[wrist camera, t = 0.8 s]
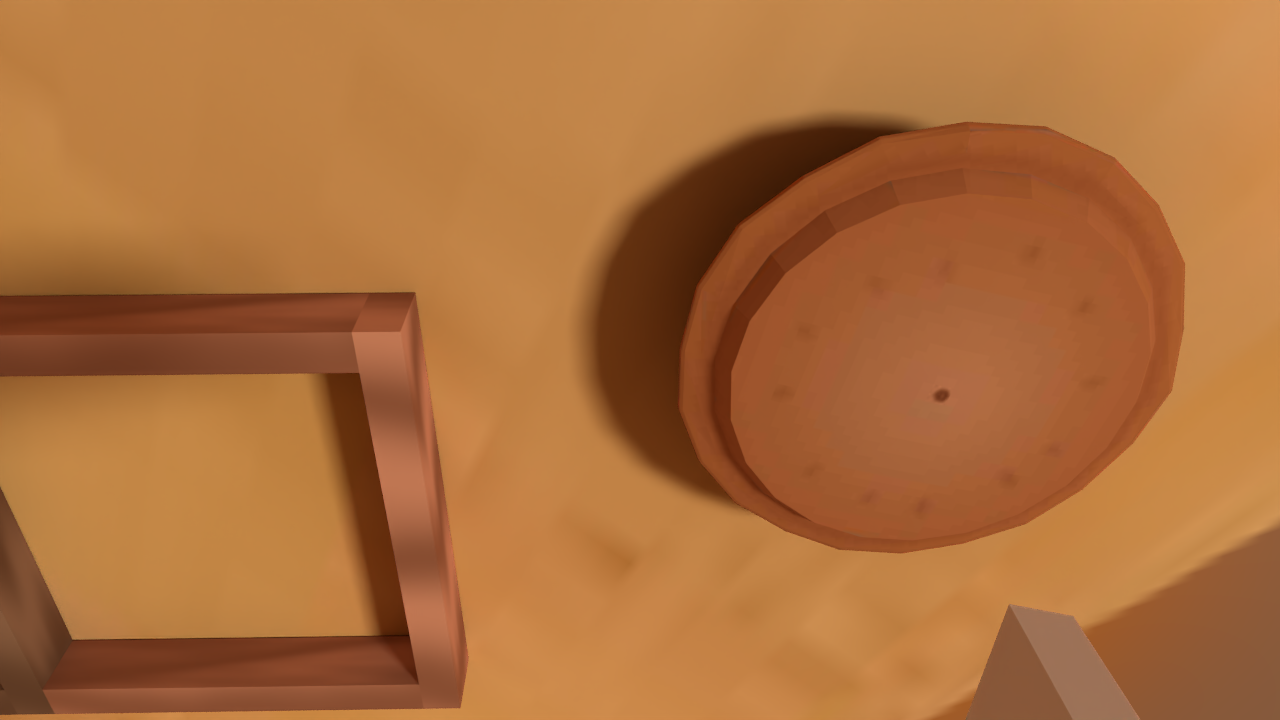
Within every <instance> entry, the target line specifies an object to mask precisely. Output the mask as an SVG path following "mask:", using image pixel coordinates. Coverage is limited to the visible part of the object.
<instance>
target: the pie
mask: <svg viewBox="0 0 1280 720" xmlns="http://www.w3.org/2000/svg"><path fill="white" fill-rule="evenodd" d="M1184 282H1185V263H1184V261H1183V258H1182V256H1181V254H1180V252H1179V249H1178V247H1177V245H1176V243H1175V240H1174V238H1173V236H1172V234H1171V231H1170V229H1169V227H1168V225H1167V223H1166V220H1165V218H1164V216H1163V214H1162V211H1161V209H1160V207H1159V205H1158V204H1157V203H1156V202H1155V200H1154V199H1153V198H1152V197H1151V196H1150V195H1149V194H1148V193H1147V192H1146V191H1145V190H1144V189H1143V188H1142V187H1141V185H1140V184H1139V183H1138V182H1137V181H1136V180H1135V179H1134V178H1133V177H1132V176H1131V175H1130V174H1129V173H1128V172H1127V170H1126V169H1125V168H1124V167H1123V166H1122V165H1121V164H1120V163H1119V162H1118V161H1117V160H1116V159H1115V158H1114V157H1112V156H1110V155H1107V154H1105V153H1103V152H1101V151H1099V150H1096V149H1094V148H1092V147H1090V146H1088V145H1085V144H1083V143H1081V142H1079V141H1077V140H1074V139H1072V138H1070V137H1068V136H1065V135H1063V134H1061V133H1059V132H1057V131H1054V130H1052V129H1050V128H1048V127H1044V126H1027V125H1010V124H993V123H976V122H963V123H957V124H951V125H945V126H939V127H933V128H928V129H922V130H916V131H910V132H904V133H898V134H892V135H886V136H881V137H877V138H876V139H874V140H872V141H870V142H868V143H866V144H864V145H862V146H860V147H858V148H856V149H854V150H852V151H850V152H848V153H846V154H844V155H842V156H840V157H838V158H836V159H834V160H832V161H830V162H828V163H827V164H825V165H823V166H821V167H819V168H817V169H815V170H813V171H811V172H809V173H807V174H805V175H803V176H802V177H800V178H799V179H798V180H796V181H795V182H794V183H792V184H791V185H790V186H788V187H787V188H786V189H784V190H783V191H782V192H780V193H779V194H778V195H776V196H775V197H774V198H772V199H771V200H770V201H768V202H767V203H765V204H764V205H763V206H761V207H760V208H759V209H757V210H756V211H755V212H753V213H752V214H751V215H749V216H748V217H747V218H745V219H744V220H743V221H741V222H740V223H739V224H738V225H737V226H736V228H735V229H734V231H733V232H732V234H731V235H730V237H729V238H728V240H727V241H726V243H725V244H724V246H723V247H722V248H721V250H720V251H719V253H718V254H717V256H716V257H715V259H714V260H713V262H712V263H711V265H710V266H709V268H708V269H707V271H706V272H705V274H704V275H703V277H702V278H701V279H700V281H699V282H698V284H697V286H696V289H695V293H694V297H693V301H692V304H691V308H690V312H689V315H688V319H687V323H686V326H685V330H684V334H683V338H682V341H681V345H680V359H679V389H678V409H679V412H680V414H681V417H682V419H683V422H684V424H685V427H686V430H687V432H688V435H689V437H690V440H691V442H692V445H693V448H694V450H695V453H696V455H697V458H698V460H699V462H700V463H701V464H702V465H703V466H704V467H705V469H706V470H707V471H708V472H709V473H710V474H711V475H712V477H713V478H714V479H715V480H716V481H717V482H718V484H719V485H720V486H721V487H722V488H723V489H724V490H725V492H726V493H727V494H728V495H729V496H730V497H731V499H732V500H733V501H734V502H735V503H737V504H738V505H740V506H742V507H744V508H745V509H747V510H749V511H751V512H753V513H754V514H756V515H758V516H760V517H761V518H763V519H765V520H767V521H769V522H770V523H772V524H774V525H776V526H777V527H779V528H781V529H783V530H785V531H787V532H790V533H793V534H796V535H798V536H801V537H804V538H807V539H810V540H813V541H816V542H819V543H822V544H825V545H827V546H830V547H833V548H836V549H839V550H855V551H871V552H887V553H907V552H913V551H919V550H926V549H932V548H938V547H944V546H950V545H956V544H963V543H966V542H969V541H972V540H976V539H979V538H982V537H985V536H989V535H992V534H995V533H998V532H1001V531H1005V530H1008V529H1011V528H1014V527H1017V526H1021V525H1024V524H1027V523H1028V522H1030V521H1031V520H1033V519H1035V518H1036V517H1038V516H1040V515H1041V514H1043V513H1045V512H1046V511H1048V510H1050V509H1051V508H1053V507H1054V506H1056V505H1058V504H1059V503H1061V502H1063V501H1064V500H1066V499H1068V498H1069V497H1071V496H1072V495H1074V494H1076V493H1077V492H1079V491H1081V490H1082V489H1083V488H1084V487H1086V486H1087V485H1088V484H1089V483H1090V482H1091V481H1092V480H1093V479H1094V478H1095V477H1096V476H1098V475H1099V474H1100V473H1101V472H1102V471H1103V470H1104V469H1105V468H1106V467H1107V466H1109V465H1110V464H1111V463H1112V462H1113V461H1114V460H1115V459H1116V458H1117V457H1118V456H1119V455H1121V454H1122V453H1123V452H1124V451H1125V450H1126V449H1127V448H1128V447H1129V446H1130V445H1132V444H1133V442H1134V441H1135V440H1136V438H1137V437H1138V436H1139V434H1140V433H1141V432H1142V430H1143V429H1144V428H1145V426H1146V425H1147V424H1148V422H1149V421H1150V420H1151V418H1152V417H1153V415H1154V414H1155V413H1156V411H1157V410H1158V409H1159V407H1160V406H1161V405H1162V403H1163V402H1164V401H1165V399H1166V398H1167V397H1168V395H1169V394H1170V393H1171V391H1172V387H1173V382H1174V376H1175V371H1176V366H1177V361H1178V356H1179V350H1180V345H1181V340H1182V335H1183V329H1184Z"/></svg>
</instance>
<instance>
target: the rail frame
mask: <svg viewBox="0 0 1280 720" xmlns="http://www.w3.org/2000/svg"><path fill="white" fill-rule="evenodd" d="M294 373H359V374H360V379H361V384H362V389H363V395H364V400H365V405H366V410H367V416H368V421H369V426H370V431H371V436H372V442H373V447H374V452H375V457H376V462H377V468H378V473H379V478H380V483H381V489H382V494H383V499H384V504H385V509H386V515H387V520H388V525H389V530H390V536H391V541H392V546H393V551H394V556H395V562H396V567H397V572H398V577H399V582H400V588H401V593H402V598H403V603H404V609H405V614H406V619H407V624H408V629H409V635H410V636H371V637H296V638H222V639H147V640H72V638H71V636H70V634H69V632H68V630H67V628H66V625H65V623H64V621H63V619H62V617H61V615H60V613H59V611H58V609H57V606H56V604H55V602H54V600H53V598H52V596H51V594H50V592H49V589H48V587H47V585H46V583H45V581H44V579H43V577H42V575H41V573H40V570H39V568H38V566H37V564H36V562H35V560H34V558H33V556H32V553H31V551H30V549H29V547H28V545H27V543H26V541H25V539H24V537H23V534H22V532H21V530H20V528H19V526H18V524H17V522H16V520H15V518H14V515H13V513H12V511H11V509H10V507H9V505H8V503H7V501H6V498H5V496H4V494H3V492H2V490H1V488H0V715H12V714H82V713H151V712H221V711H290V710H360V709H429V708H460V707H461V701H462V695H463V689H464V683H465V677H466V671H467V665H468V652H467V645H466V638H465V631H464V624H463V617H462V611H461V604H460V597H459V590H458V583H457V576H456V569H455V563H454V556H453V549H452V542H451V535H450V528H449V521H448V515H447V508H446V501H445V494H444V487H443V480H442V473H441V466H440V460H439V453H438V446H437V439H436V432H435V425H434V418H433V412H432V405H431V398H430V391H429V384H428V377H427V370H426V364H425V357H424V350H423V343H422V336H421V329H420V322H419V315H418V309H417V302H416V295H415V293H328V294H211V295H93V296H0V376H86V375H190V374H294Z"/></svg>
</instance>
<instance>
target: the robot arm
mask: <svg viewBox="0 0 1280 720" xmlns="http://www.w3.org/2000/svg"><path fill="white" fill-rule="evenodd" d="M966 720H1140V719H1139V717H1138V716H1137V714H1136V712H1135V711H1134V709H1133V708H1132V707H1131V705H1130V703H1129V702H1128V700H1127V699H1126V697H1125V695H1124V694H1123V692H1122V691H1121V689H1120V688H1119V686H1118V685H1117V683H1116V682H1115V680H1114V678H1113V677H1112V675H1111V674H1110V673H1109V671H1108V669H1107V668H1106V666H1105V664H1104V663H1103V661H1102V660H1101V658H1100V657H1099V655H1098V654H1097V652H1096V651H1095V649H1094V647H1093V646H1092V644H1091V643H1090V641H1089V640H1088V638H1087V637H1086V635H1085V634H1084V632H1083V631H1082V629H1081V627H1080V626H1079V624H1078V623H1077V621H1076V620H1075V618H1074V617H1073V616H1070V615H1064V614H1059V613H1054V612H1048V611H1043V610H1038V609H1032V608H1027V607H1022V606H1016V605H1011V604H1009V606H1008V609H1007V611H1006V614H1005V617H1004V619H1003V622H1002V624H1001V627H1000V630H999V632H998V635H997V638H996V640H995V643H994V646H993V648H992V651H991V654H990V656H989V659H988V662H987V664H986V667H985V669H984V672H983V675H982V677H981V680H980V683H979V685H978V688H977V691H976V693H975V696H974V699H973V701H972V704H971V707H970V709H969V712H968V714H967V717H966Z"/></svg>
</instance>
